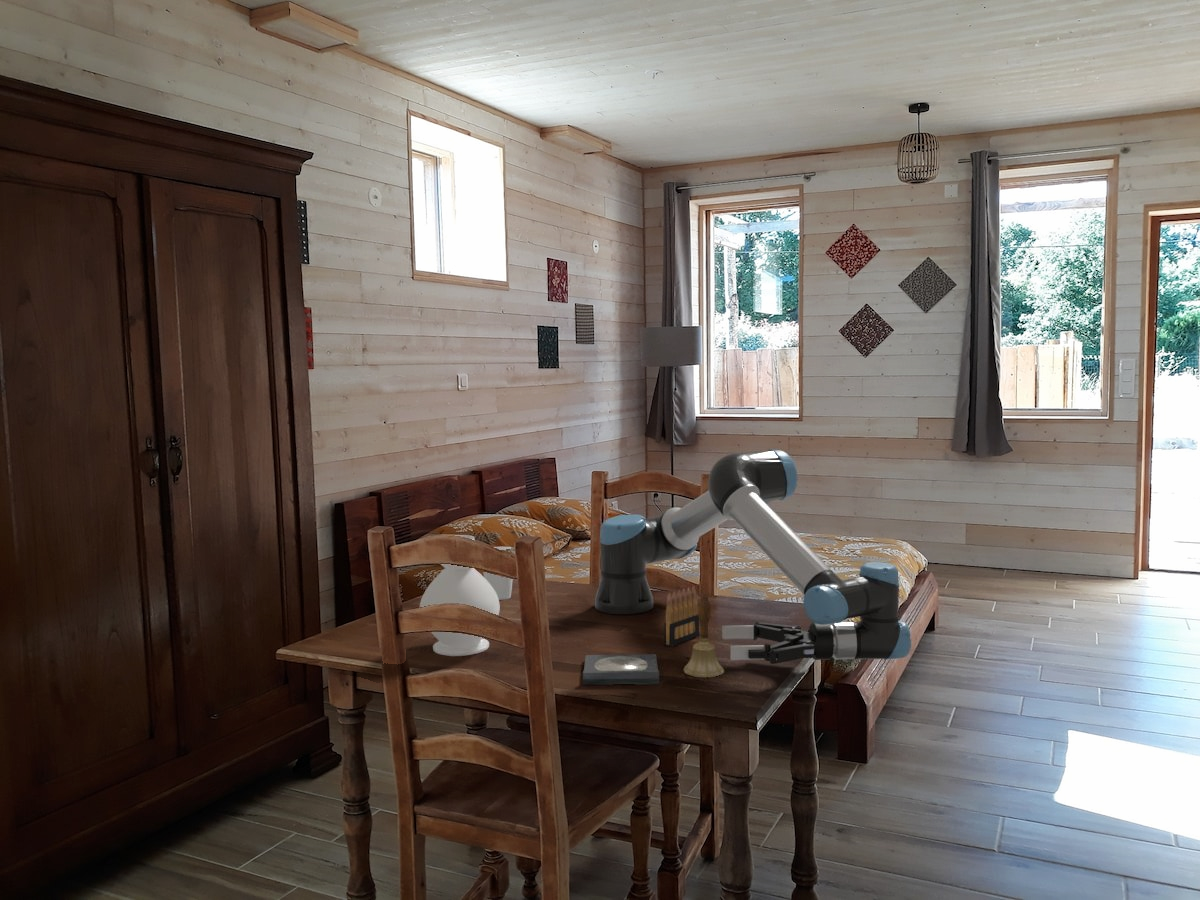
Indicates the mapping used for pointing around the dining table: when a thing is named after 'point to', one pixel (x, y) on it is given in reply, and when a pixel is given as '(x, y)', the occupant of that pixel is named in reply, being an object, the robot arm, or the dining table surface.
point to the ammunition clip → (681, 617)
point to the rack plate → (620, 669)
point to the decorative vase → (461, 589)
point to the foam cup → (500, 582)
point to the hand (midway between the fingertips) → (726, 642)
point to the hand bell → (703, 647)
